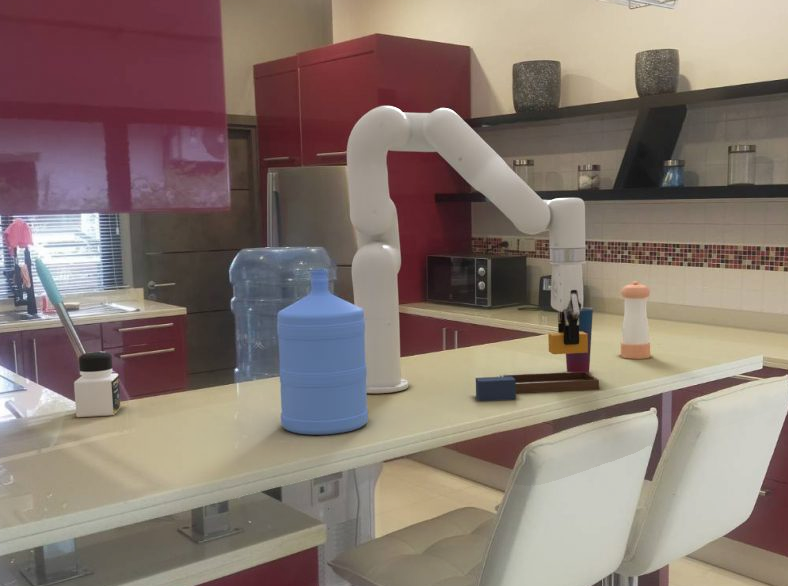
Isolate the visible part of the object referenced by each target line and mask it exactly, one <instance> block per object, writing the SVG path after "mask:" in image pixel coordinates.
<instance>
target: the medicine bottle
mask: <svg viewBox="0 0 788 586" xmlns="http://www.w3.org/2000/svg"><path fill="white" fill-rule="evenodd" d="M112 358H113V357H112V354H111V353H109V352H107V351H91V352H85V353H82V354H81V355H79V357H78V366H79V367H78V368H79V375H80V377H79V378H77V379H76V380H75V381H74V382H73V389H74V402H75V414H76V415H75V416H76V417H77V418H90V417H91V418H93V417H106V416H109V417H110V416H115V414H116V413H118V411H119V410H120V409H121V407H122V406H121V405H122V403H121V391H120V375H119V373H115V372H113V371H114V370H113V359H112Z"/></svg>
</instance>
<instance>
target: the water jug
mask: <svg viewBox="0 0 788 586" xmlns="http://www.w3.org/2000/svg"><path fill="white" fill-rule="evenodd" d="M309 273H310V278H311V279H310V281H309V282H310V287H311V289H310V292H309V294H308V295H306V296H304V297H303V298H301V299H299V300H297V301H296V302H294V303H291V304H289V305H288V306H286V307H284V308H283V309H280V310H279V311H278V312H277V314H276V315H277V316H276V318H277V322H276V334H277V338H278V339H277V340H278V341H277V343H278V357H279V383H280V408H281V409H280V410H281V413H280V424H281V426H282V427H283V428H284V429H285V430H286V431H288V432H291V433H293V434H294V433H295V434H298V435H299V434H300V435H308V436H309V435H311V436H324V435H337V434H343V433H348V432H352V431H355V430H359V429H360V428H362V427H363V426H365V425H366V424H367V423H368V420H369V409H368V399H367V398H368V396H367V395H368V393H366V377H367V368H366V363H365V319H364V311H363V309H362V308H360V307H358V306H356V305H354V303H352V302H349V301H348V300H345V299H343V298H340V297H338V296H336V295H334V294H332V292H330V289H329V282H330V281H329V278H328V273H329V270H328V269H316V270H315V269H314V270H309Z"/></svg>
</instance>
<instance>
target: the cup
mask: <svg viewBox="0 0 788 586" xmlns="http://www.w3.org/2000/svg"><path fill="white" fill-rule="evenodd" d="M593 312H594V308H593V307H588V306H587V307H585V306H583V309H582V310H580V314H579V332H580V331H582V332H585V333H587V334H588V353H570V354H565V364H566V372H582V371H586V372H587V373H589V374H590V368H591V367H590V366H591V365H590V364H591V350H592V349H591V348H592V346H591V345H592V332H593V314H594V313H593Z"/></svg>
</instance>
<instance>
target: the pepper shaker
mask: <svg viewBox="0 0 788 586" xmlns="http://www.w3.org/2000/svg"><path fill="white" fill-rule="evenodd" d="M620 294H621V296H622V297H623V298H624V311H623V312H624V313H623V314H624V315H623V321H622V327H621V335H622V336H621V338H622V339H621V340H622V341H621V342H620V357H621V358H624V359H629V360H630V359H632V360H633V359H634V360H640V359H649V358H650V357H651V342H650V341H649V339H650V337H649V336H650V328H649V320H648V315H647V313H648V312H647V310H648V309H647V307H648V306H647V298H648V297H649V296H650V294H651V291H650V289H649V287H648V286H647V285H645V284H640V282H639V281H638V280H634V281H632V284H627V285H625V286H623V287H622V288H621V292H620Z"/></svg>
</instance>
